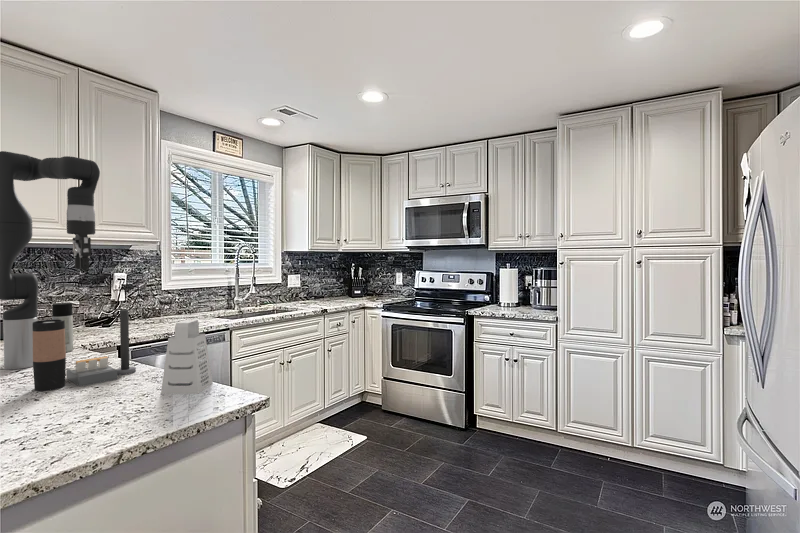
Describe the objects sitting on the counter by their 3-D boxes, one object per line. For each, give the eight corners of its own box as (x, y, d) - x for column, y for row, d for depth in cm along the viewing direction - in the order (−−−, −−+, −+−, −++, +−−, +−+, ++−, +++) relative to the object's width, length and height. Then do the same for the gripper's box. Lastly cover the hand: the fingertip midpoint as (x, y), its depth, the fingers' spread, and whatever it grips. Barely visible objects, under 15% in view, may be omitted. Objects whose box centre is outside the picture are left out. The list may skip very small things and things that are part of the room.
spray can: (77, 349, 180) (76, 302, 180) (63, 353, 174) (62, 304, 173) (63, 349, 181) (62, 302, 180) (48, 353, 174) (47, 304, 174)
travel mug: (27, 392, 124) (26, 323, 123) (41, 385, 131) (40, 319, 131) (58, 390, 126) (57, 322, 125) (71, 383, 133) (69, 318, 133)
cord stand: (111, 372, 145) (110, 310, 144) (131, 369, 149) (130, 308, 149) (118, 376, 141) (117, 311, 140) (138, 372, 146) (137, 310, 145)
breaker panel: (66, 378, 138) (66, 368, 138) (102, 371, 146) (102, 362, 146) (79, 386, 130) (79, 376, 130) (117, 379, 137) (117, 369, 137)
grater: (212, 382, 133) (212, 318, 133) (198, 393, 123) (197, 324, 122) (178, 383, 133) (177, 319, 132) (160, 394, 123) (159, 324, 122)
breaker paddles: (75, 370, 135) (75, 360, 134) (106, 365, 141) (106, 356, 141) (76, 372, 134) (77, 362, 133) (107, 366, 141) (108, 357, 140)
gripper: (62, 220, 143) (63, 268, 143) (71, 218, 133) (71, 270, 133) (90, 221, 148) (90, 268, 149) (100, 219, 138) (100, 269, 139)
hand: (81, 269), depth 141 cm, fingers open, 8 cm apart
